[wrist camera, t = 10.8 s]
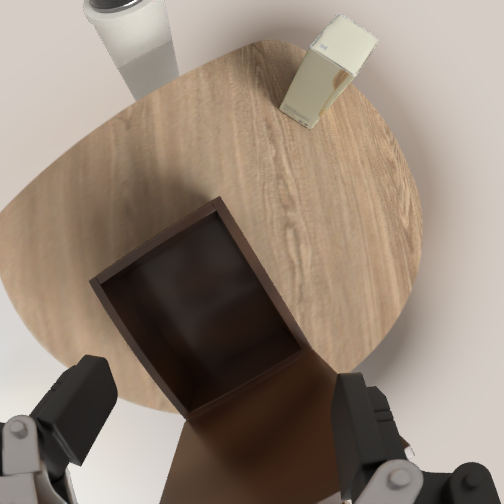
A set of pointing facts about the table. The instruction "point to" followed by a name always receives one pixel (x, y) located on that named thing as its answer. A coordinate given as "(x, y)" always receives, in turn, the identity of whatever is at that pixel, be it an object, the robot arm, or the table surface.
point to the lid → (263, 444)
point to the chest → (200, 311)
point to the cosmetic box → (327, 69)
